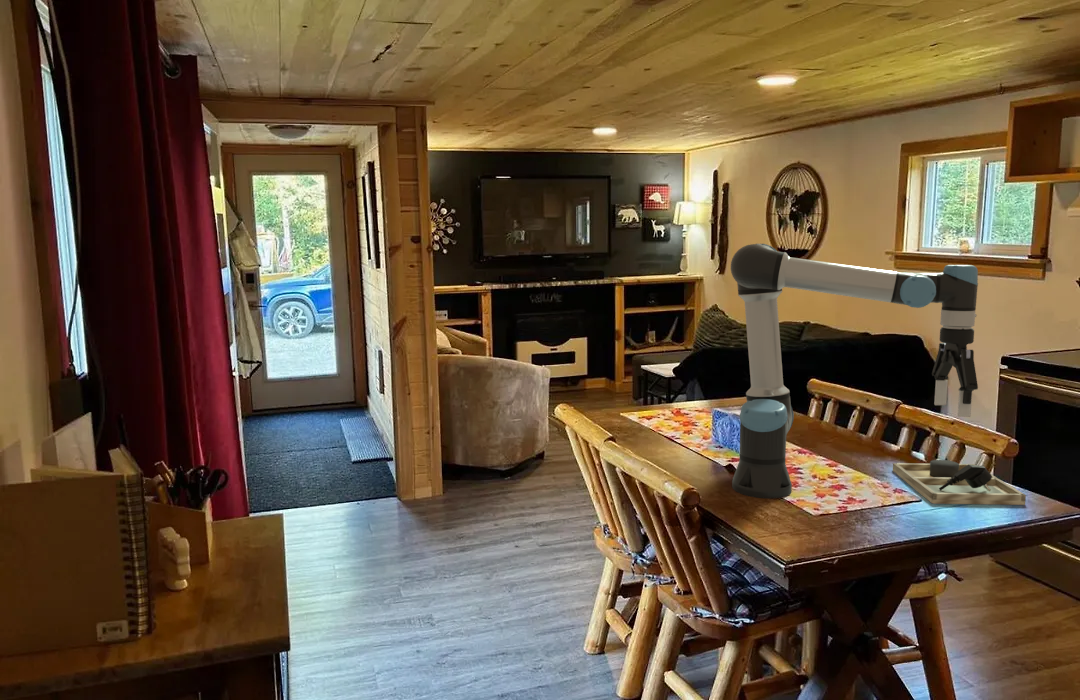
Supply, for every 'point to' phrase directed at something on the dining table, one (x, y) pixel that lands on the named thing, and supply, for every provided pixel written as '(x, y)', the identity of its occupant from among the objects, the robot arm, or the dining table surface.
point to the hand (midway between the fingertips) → (951, 410)
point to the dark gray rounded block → (943, 468)
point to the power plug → (971, 477)
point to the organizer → (956, 487)
